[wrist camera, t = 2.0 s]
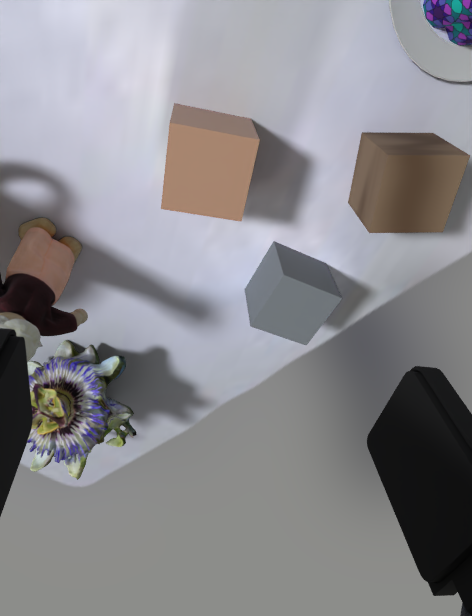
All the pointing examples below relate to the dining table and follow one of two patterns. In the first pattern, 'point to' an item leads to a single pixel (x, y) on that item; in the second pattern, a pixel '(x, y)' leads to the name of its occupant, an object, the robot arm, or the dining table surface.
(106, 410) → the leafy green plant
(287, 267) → the slate grey cube
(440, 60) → the purple patterned hat
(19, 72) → the dining table surface
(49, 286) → the grandmother figurine
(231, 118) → the terracotta cube
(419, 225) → the walnut cube
